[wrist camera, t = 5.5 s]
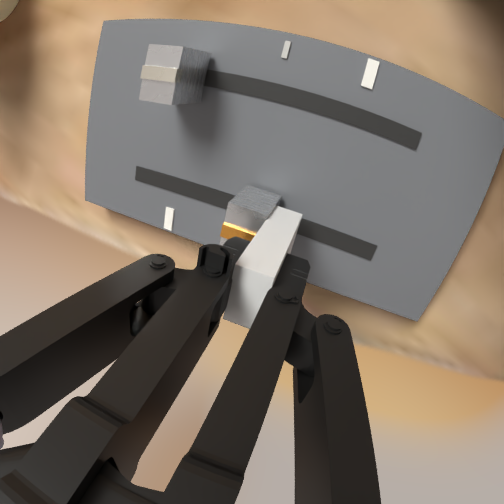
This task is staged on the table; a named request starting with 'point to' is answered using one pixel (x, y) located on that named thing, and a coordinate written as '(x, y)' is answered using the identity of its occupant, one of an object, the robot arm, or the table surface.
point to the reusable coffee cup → (7, 8)
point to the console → (296, 152)
